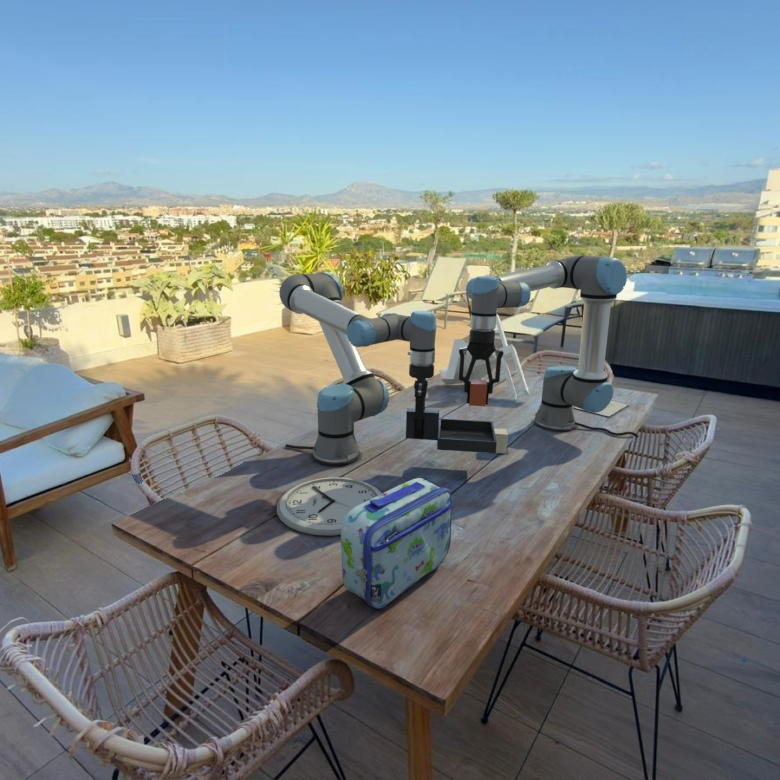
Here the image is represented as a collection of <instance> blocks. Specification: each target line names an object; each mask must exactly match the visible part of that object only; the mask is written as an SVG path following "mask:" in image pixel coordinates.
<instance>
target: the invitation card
mask: <svg viewBox="0 0 780 780" xmlns="http://www.w3.org/2000/svg"><path fill="white" fill-rule="evenodd" d="M628 406H629V404H627V403H623V402H618V401H614V400H611V401H610V403H609V404H608V405H607V407H606V408H605V409H604V410H602V411H600V412H597V413H595V414H596V415H600V416H604V417H608V418H609V417H611V416H613V415H614V414H616V413H617V412H619V411H621V410H623V409H624V408H626V407H628ZM573 409H575V410H581V411H584V412H586V411H585V410H583V409H580V408H578V407H575V406H573ZM587 413H590V412H589V411H587ZM591 413H593V412H591ZM593 414H594V413H593Z"/></svg>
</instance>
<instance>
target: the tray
mask: <svg viewBox="0 0 780 780" xmlns="http://www.w3.org/2000/svg"><path fill="white" fill-rule="evenodd" d="M405 415H406V416H405V418H406V420H405V439H407V440H408V439H410V440H417V439H416V438H414V433H415V419H413V417H415V408H410V407H407V408H406V413H405ZM423 417H424V430H423V439H422V440H424V441H425V440H426V441H437V442H436V443H437V444H436V450H437V451H450V452H451V451H452V452H469V453H470V452H471V453H482V454H484V453H485V454H497V453H496V444H497V441H496V436H495V431H494V428H495V425H494V422H493V421H491V420H489V421H488V420H472V419H458V418H456V419H455V418H440V410H439V409H428V408H427V409H426V408H425V409H424V415H423Z"/></svg>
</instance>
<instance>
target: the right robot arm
mask: <svg viewBox="0 0 780 780" xmlns="http://www.w3.org/2000/svg"><path fill="white" fill-rule="evenodd" d="M627 281H628V272H627V268H626V266H625V264H624V263H623V261H622V260H621V259H619V258H617V257H611V256H601V255H584V254H580V255H573V256H568V257H564V258H560V259H555V260H550V261H549V262H547V263H546V264H545V265H542V266H535V267H532V268H527V269H522V270H517V271H513V272H508V273H503V274H499V275H495V276H494V275H493V276H492V275H491V276H490V275H478V276H476V277H472V278H471V279H469V280H468V282H467V283H466V286H465V294H466V296H467V298H468V299H470V300H471V307H470V320H469V321H470V324H469V327H470V330H469V337H468V343H467V345H468V346H467V347H465V348H459V354H460V368H459V380H460V381H463V382H464V383H463V392H464V393H466V395H467V396H466V404H468V405H469V398H470V384H471V383H470V381H469V379H470V376H471V373H472V370H473V367H474V364H475V362H476V360H480V359H481V360H485V362H486V367H487V373H488V374H487V377H488V381H487V394H486V406H488V405H489V395H492V394H493V390H494V384H499V383H500V378H501V366H502V363H501V358H502V356H503V350H499V349H500V348H496V346H495V337H496V331H495V329H496V328H497V325H496V315H497V314H498V309H510V308H516V309H517V308H522V307H525V306H526V305H528V303H529V302H530V301H531V296H532V295H531V294H532V292H535V291H539V290H542V289H547V288H551V289H555V290H556V289H560V288H561V289H562V288H563V289H564V288H565V289H573V290H580V291H579V293H580V294H579V298H580V299H581V300H582V301H583V310H582V312H583V313H582V321H581V333H580V334H581V335H580V343H579V344H580V345H579V355H578V365H577V367H574V366H567V365H557V366H550V367H547V368H546V369H545V370H544V375H543V378H542V379H543V381H542V392H541V402H540V405H539V407H538V410H537V411H536V413H535V414H534V416H535V417H534V424H535V425H536V426H537V427H539V428H542V429H544V430H549V431H556V432H567V431H572V430H574V429H575V428H576V426H579V427H582V428H585V429H587V430H592V431H602V432H606V433H608V434H609V435H612V436H616V437H617V436H618V437H619V436H625V435H626V436H627V435H632V436H634V437H635V438H640V436H639V435H638V434H637V433H635V432H633V431H624V432H613V431H612V430H610V429H607V428H606V427H605V428H604V427H597V426H596V427H594V426H590V425H587V424H584V423H580V422H577V421H576V418H575V417H576V416H575V413H574V407H578V408H580V409H583V410H582V411H584V410H585V411H584V412H588V411H589V412H588V413H592V412H593V414H596V413H597V412H600V411H602V410H604V409H605V408H606V407H607V405H608V404H609V403H610V401H612V399H613V396H614V387H613V385H612V384H611V383H610V382H608V377H609V375H608V373H607V372H606V371H605V363H606V355H607V353H606V352H607V344H608V336H609V327H610V318H611V309H612V308H611V307H612V303H613V302H614V301H615V300H616V299H617V297H618V294H620V293H622V291H623V290H624V287H626V285H627ZM467 351H469V353H470V354H471V356H472V358H471V361H470V364H469V367H468V370H467V373H466V376H465V377H464V376H463V369H464V355H466V352H467ZM494 352H495V355H496V356H497V358H496V369H495V373H494V374H495V375H494V377H493V373H492V372H493V371H492V372H491V367H490V362H489V357H490V356H491V355H492V354H493V353H494ZM580 409H579V410H580Z"/></svg>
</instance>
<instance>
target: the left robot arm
mask: <svg viewBox="0 0 780 780" xmlns="http://www.w3.org/2000/svg"><path fill="white" fill-rule="evenodd" d="M278 295H279V299H280V302H281V303H282V305H283V306H284V307H285V308H286V309H287V310H289V311H291V312H293V313H295V314H297V315H305V316H307V317H309V318H312V319H314V320H316V321H318V324H319V326H320V328H321V330H322V332H323V335H324V337H325V339H326V342H327V344H328V346H329V349H330V351H331V354H332V356H333V357H334V360H335V362H336V365H337V367H338V369H339V372H340V375H341V376H342V378H343V383H338V384H331V385H327V386H325V387H323V388H322V389H320V391H319V392H318V394H317V402H316V408H317V438H316V440H315V444H314V446H308V445H307V446H305V445H293V444H287V443H286V444H285V448H290V449H297V450H312V457H313V460H315V462H317V463H319V464H322V465H326V466H344V465H349V464H352V463H354V462H356V461H357V460H359V458H360V447H359V445H358V442H357V439H356V435H355V423H356V422H359V421H362V420H365V419H367V418H370V417H376V416H378V415H379V414H381V413H383V412H385V410H386V409H387V407H388V405H389V402H390V391H389V388H388V387H387V385H386V383H385V382H384V381H382V379H381V380H380V379H376V377H375V375H374V372H372V371H370V370H368V369H367V367H366V365H365V362H364V360H363V358H362V356H361V354H360V351H359V349H358V348H362V347H363V348H366V347H370V346H373V345H377V344H382V343H388V342H392V341H403V342H407V343H409V351H408V352H407V356H409V362H410V363H409V365H408V374H409V377H411V378H412V379H415V380H414V384H413V388H414V398H415V400H414V401H415V402H414V403H415V405H414V406H415V407H414V409H415V417H413V419H415V433H414V438H416V439H415V440H424V439H423V430H424V417H423V415H424V409H426V398H427V393H428V392H427V391H428V386H429V381H428V380H427V379H431V378H433V377H434V375H435V365H434V363H435V360H436V336H437V316H436V313H434V312H433V311H429V310H414V311H412V312H411V313H410V315H409V316H408V315H403V314H398V313H395V312H394V313H391V312H390V313H389V312H386V313H384V314H382V315H381V316H380V317H373V318H371V317H367V316H366V315H363V314H361V313H359V312H358V311H357V312H356V311H355V310H352V309H351V308H348V307H346V306H344V305H343V302H342V300H343V298H344V287H343V284H342V283H341V280H340V279H339V278H338V276H336V275H335V274H333V273H330V272H321V271H320V272H315V273H297V274H292V275H289V276H288V277H287V278H285V279H284V280H283V282H282V283H281V284H280V286H279V293H278Z"/></svg>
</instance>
